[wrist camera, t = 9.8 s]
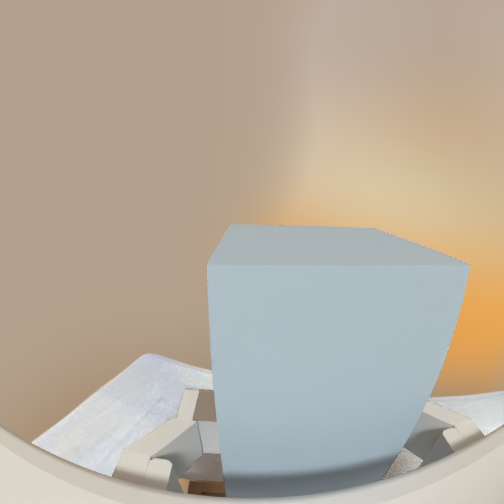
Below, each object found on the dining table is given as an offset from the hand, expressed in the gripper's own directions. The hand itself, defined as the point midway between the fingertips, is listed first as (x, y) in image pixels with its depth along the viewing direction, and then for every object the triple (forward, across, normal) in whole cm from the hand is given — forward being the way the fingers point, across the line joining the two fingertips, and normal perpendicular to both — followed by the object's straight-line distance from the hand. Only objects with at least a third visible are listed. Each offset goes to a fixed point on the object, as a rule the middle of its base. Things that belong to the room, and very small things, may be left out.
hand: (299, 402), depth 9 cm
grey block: (-1, 0, +8) cm, 8 cm away
